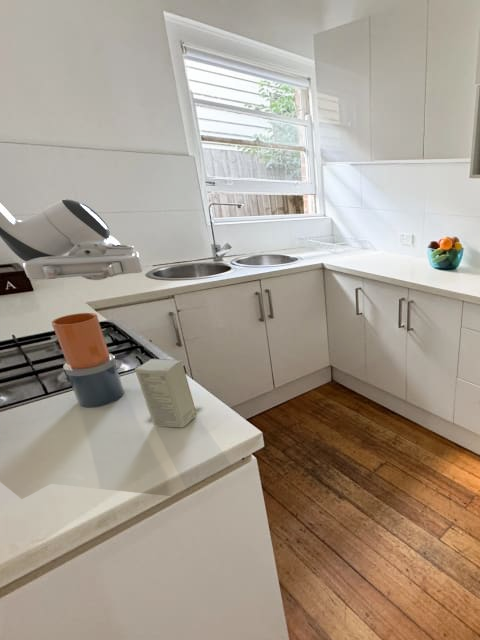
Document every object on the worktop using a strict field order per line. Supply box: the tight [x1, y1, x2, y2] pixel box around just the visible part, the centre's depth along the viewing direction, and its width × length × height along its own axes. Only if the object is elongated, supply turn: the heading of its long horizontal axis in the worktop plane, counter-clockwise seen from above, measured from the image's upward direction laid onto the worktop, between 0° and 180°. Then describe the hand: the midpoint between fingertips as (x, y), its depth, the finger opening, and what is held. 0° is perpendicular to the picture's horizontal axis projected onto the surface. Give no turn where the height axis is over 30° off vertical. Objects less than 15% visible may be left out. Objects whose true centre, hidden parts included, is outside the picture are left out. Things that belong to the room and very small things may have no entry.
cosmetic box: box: [134, 358, 198, 428], centre depth 70 cm, size 6×4×12 cm
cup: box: [51, 312, 111, 369], centre depth 74 cm, size 7×7×9 cm
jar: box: [62, 352, 125, 408], centre depth 77 cm, size 8×8×8 cm
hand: (79, 273), depth 79 cm, fingers open, 8 cm apart
